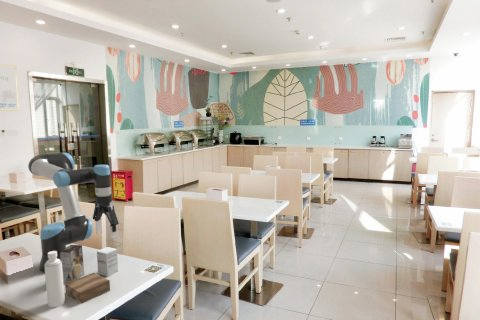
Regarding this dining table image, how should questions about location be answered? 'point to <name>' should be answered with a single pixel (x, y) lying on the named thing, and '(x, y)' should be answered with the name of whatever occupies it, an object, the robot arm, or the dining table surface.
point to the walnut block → (87, 287)
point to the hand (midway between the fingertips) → (106, 235)
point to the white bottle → (54, 280)
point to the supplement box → (107, 261)
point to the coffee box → (72, 262)
